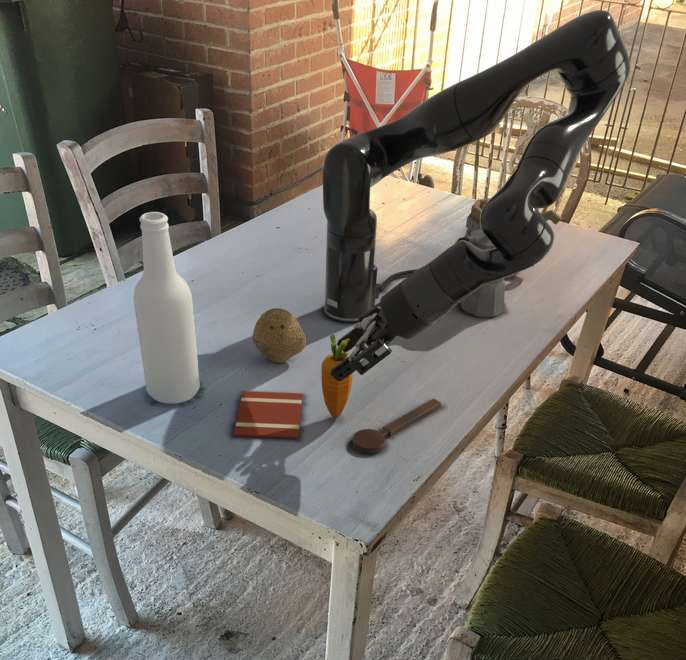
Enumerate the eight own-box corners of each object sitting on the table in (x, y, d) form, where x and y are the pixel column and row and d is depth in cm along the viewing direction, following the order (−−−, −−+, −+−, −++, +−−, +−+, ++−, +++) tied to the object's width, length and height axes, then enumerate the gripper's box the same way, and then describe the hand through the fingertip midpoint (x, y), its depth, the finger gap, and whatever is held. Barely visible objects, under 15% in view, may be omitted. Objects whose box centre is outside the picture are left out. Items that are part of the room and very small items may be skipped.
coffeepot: (498, 293, 161) (514, 210, 150) (521, 313, 154) (539, 228, 143) (433, 302, 157) (444, 217, 146) (453, 323, 150) (466, 236, 139)
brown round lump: (243, 355, 137) (241, 305, 131) (284, 342, 142) (284, 293, 135) (270, 378, 132) (269, 327, 126) (312, 364, 136) (313, 314, 130)
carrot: (319, 409, 125) (321, 329, 116) (349, 409, 126) (353, 329, 116) (320, 427, 121) (323, 345, 112) (351, 427, 122) (356, 345, 112)
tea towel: (302, 395, 128) (302, 393, 128) (297, 438, 119) (297, 436, 118) (243, 393, 128) (242, 390, 128) (233, 436, 119) (233, 433, 118)
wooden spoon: (425, 398, 129) (426, 393, 128) (448, 411, 126) (449, 406, 126) (346, 443, 118) (346, 437, 118) (368, 458, 116) (369, 452, 115)
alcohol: (140, 403, 124) (114, 226, 106) (153, 375, 131) (131, 203, 112) (194, 407, 124) (177, 230, 105) (204, 378, 131) (190, 207, 112)
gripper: (405, 261, 113) (326, 322, 121) (400, 305, 102) (314, 370, 110) (436, 296, 116) (357, 354, 124) (435, 343, 105) (349, 403, 113)
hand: (337, 361), depth 117 cm, fingers open, 8 cm apart
